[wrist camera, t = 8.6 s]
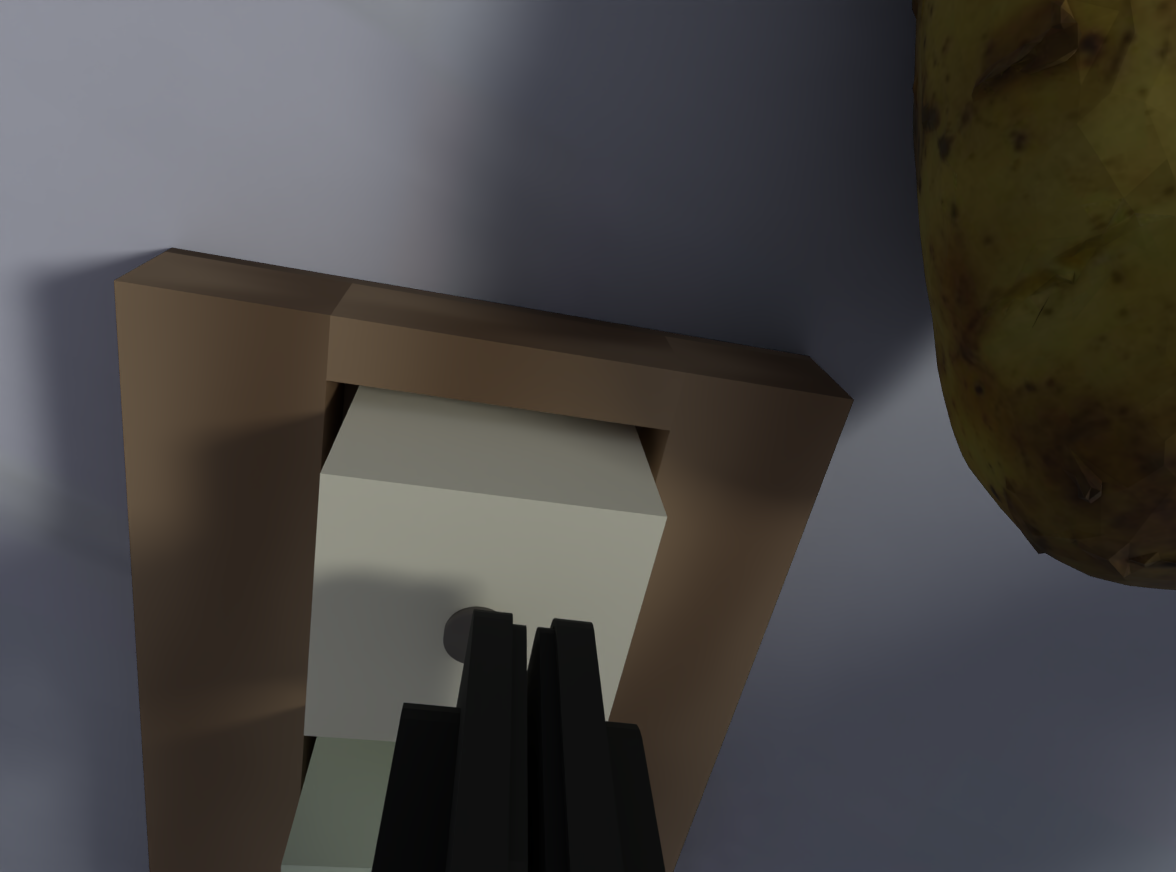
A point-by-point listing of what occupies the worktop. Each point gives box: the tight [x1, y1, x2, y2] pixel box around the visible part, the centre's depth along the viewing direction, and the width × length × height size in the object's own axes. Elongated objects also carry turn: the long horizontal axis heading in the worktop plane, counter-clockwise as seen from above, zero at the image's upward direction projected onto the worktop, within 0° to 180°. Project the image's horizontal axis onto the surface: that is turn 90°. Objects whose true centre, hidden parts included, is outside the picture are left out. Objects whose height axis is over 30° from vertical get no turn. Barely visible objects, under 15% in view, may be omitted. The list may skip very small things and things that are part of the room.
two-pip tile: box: [281, 736, 396, 872], centre depth 15 cm, size 5×5×4 cm
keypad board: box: [114, 248, 854, 872], centre depth 18 cm, size 12×21×2 cm, turn 168°
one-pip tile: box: [304, 385, 667, 742], centre depth 14 cm, size 5×5×4 cm
